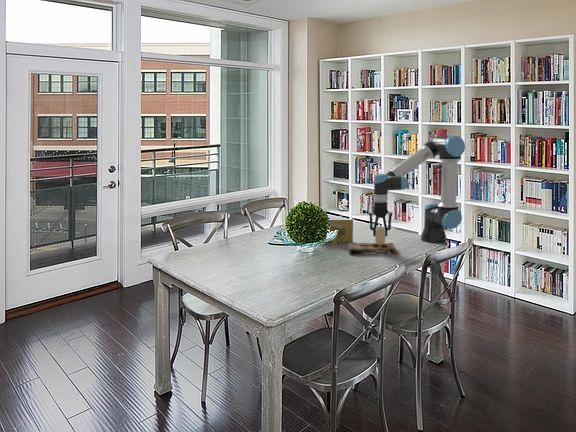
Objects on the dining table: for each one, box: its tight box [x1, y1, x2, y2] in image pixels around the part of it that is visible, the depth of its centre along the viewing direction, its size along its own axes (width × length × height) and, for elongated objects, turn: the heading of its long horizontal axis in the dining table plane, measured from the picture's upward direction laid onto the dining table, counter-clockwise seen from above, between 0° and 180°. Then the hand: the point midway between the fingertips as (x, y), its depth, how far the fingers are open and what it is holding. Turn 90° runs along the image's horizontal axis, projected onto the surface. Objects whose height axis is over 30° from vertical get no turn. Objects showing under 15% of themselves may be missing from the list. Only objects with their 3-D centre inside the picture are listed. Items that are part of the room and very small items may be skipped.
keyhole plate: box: [347, 242, 397, 255], centre depth 288 cm, size 26×13×4 cm, turn 86°
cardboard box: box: [329, 219, 354, 246], centre depth 308 cm, size 23×9×15 cm, turn 84°
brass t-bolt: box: [373, 226, 387, 254], centre depth 287 cm, size 6×6×14 cm
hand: (380, 241), depth 287 cm, fingers closed on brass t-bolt, 4 cm apart
